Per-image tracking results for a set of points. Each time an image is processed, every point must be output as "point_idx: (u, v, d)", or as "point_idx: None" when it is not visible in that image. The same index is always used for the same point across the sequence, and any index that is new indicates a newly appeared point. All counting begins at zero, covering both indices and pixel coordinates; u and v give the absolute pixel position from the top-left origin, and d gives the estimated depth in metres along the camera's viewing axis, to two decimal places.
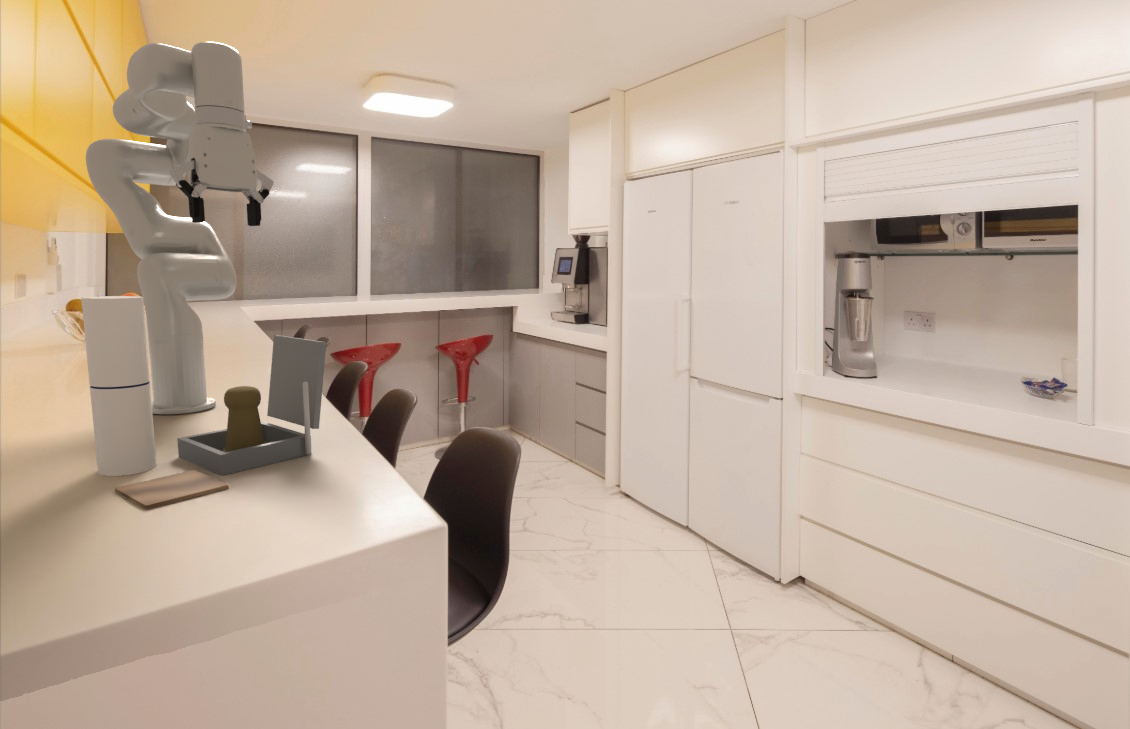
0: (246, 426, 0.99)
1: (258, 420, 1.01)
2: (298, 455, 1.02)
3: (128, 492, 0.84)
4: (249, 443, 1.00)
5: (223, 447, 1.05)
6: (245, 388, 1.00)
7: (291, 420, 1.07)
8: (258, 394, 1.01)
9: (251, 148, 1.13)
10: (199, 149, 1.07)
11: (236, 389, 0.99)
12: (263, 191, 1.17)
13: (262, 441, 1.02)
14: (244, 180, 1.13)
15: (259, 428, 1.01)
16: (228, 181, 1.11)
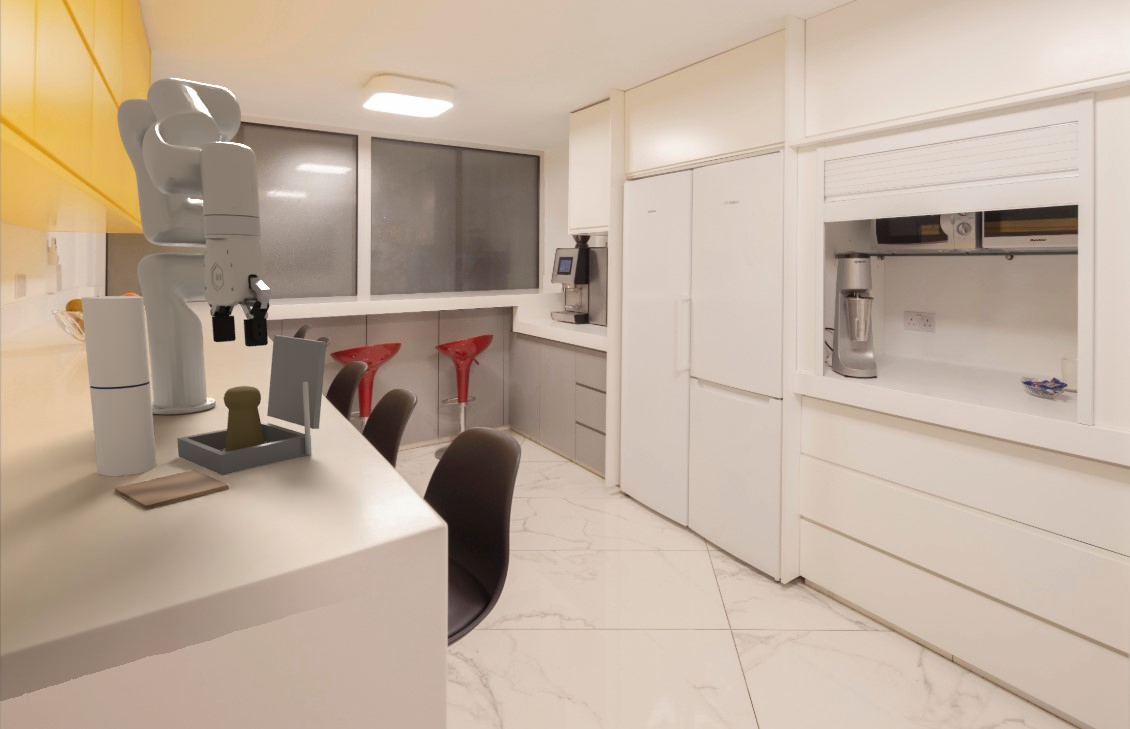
0: (246, 426, 0.99)
1: (258, 420, 1.01)
2: (298, 455, 1.02)
3: (128, 492, 0.84)
4: (249, 443, 1.00)
5: (223, 447, 1.05)
6: (245, 388, 1.00)
7: (291, 420, 1.07)
8: (258, 394, 1.01)
9: None
10: (262, 265, 0.96)
11: (236, 389, 0.99)
12: None
13: (262, 441, 1.02)
14: None
15: (259, 428, 1.01)
16: None
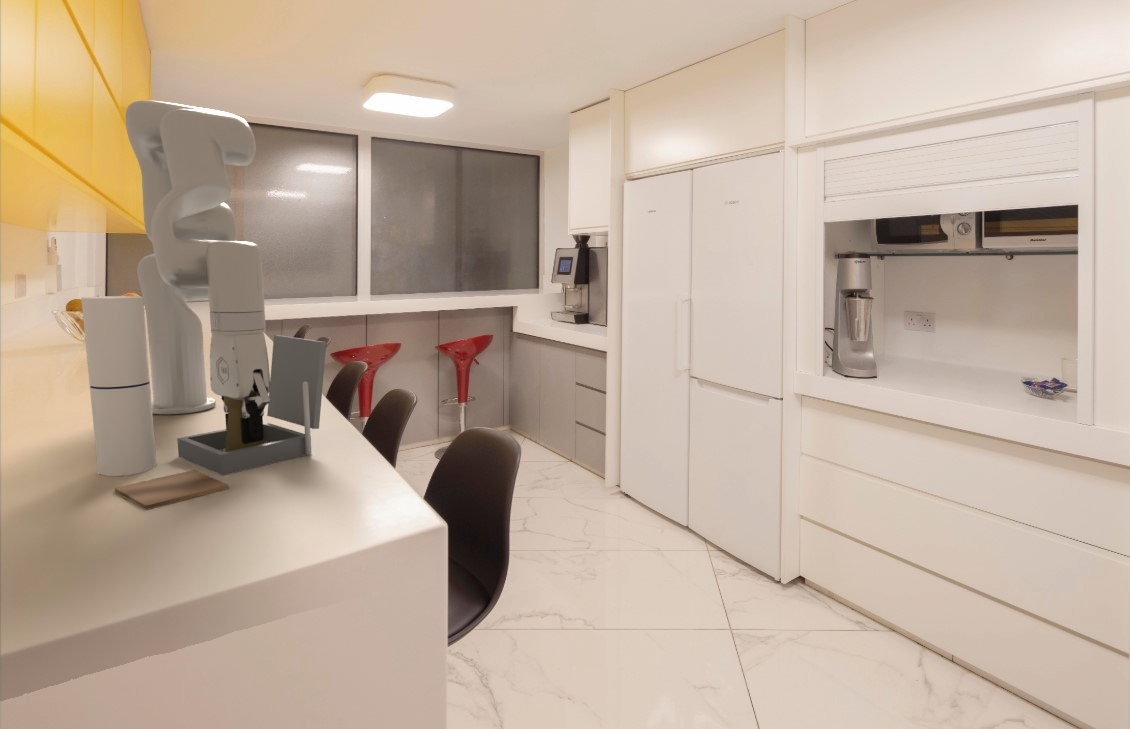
0: None
1: None
2: (298, 455, 1.02)
3: (128, 492, 0.84)
4: (249, 443, 1.00)
5: (223, 447, 1.05)
6: None
7: (291, 420, 1.07)
8: None
9: None
10: (266, 359, 0.98)
11: None
12: None
13: (262, 441, 1.02)
14: None
15: None
16: None
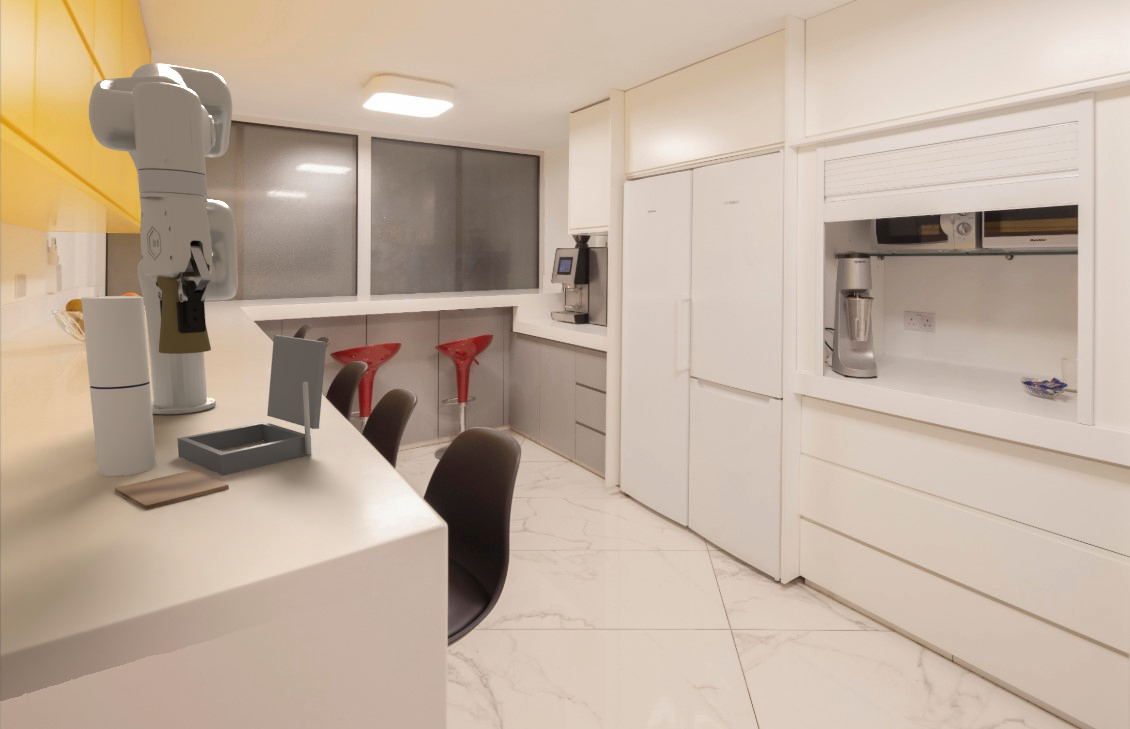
0: None
1: None
2: (298, 455, 1.02)
3: (128, 492, 0.84)
4: (188, 333, 0.83)
5: (223, 447, 1.05)
6: None
7: (291, 420, 1.07)
8: None
9: None
10: (207, 230, 0.82)
11: None
12: None
13: (204, 333, 0.86)
14: None
15: None
16: None
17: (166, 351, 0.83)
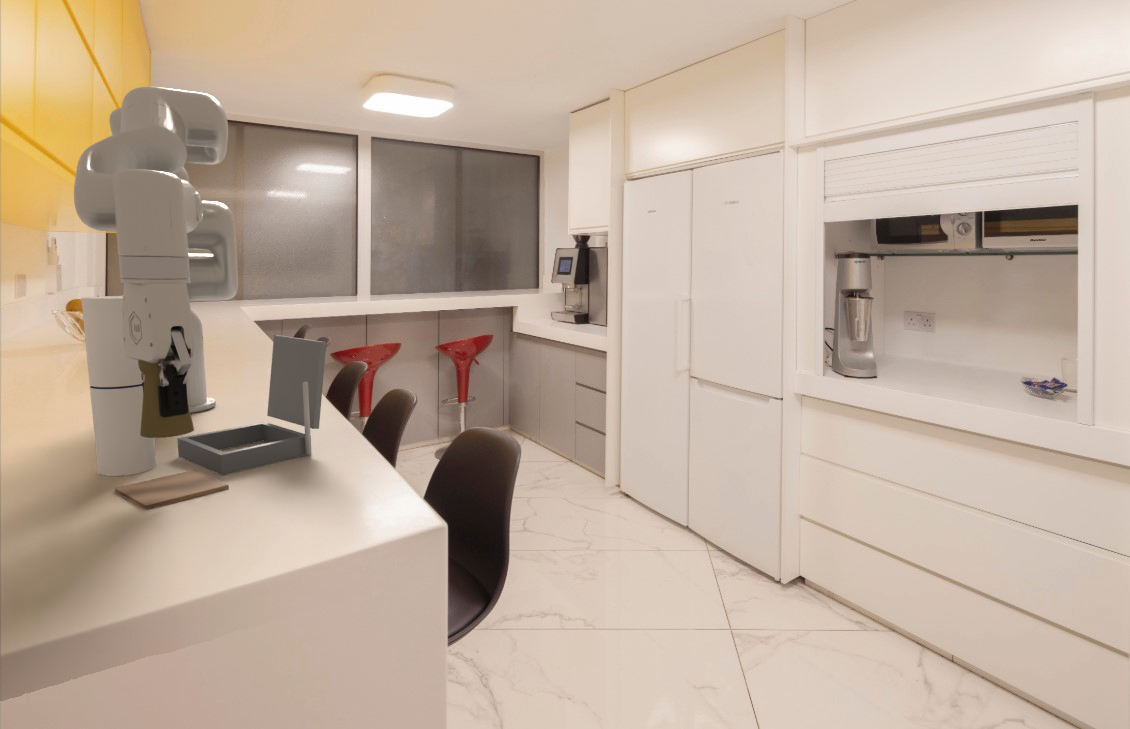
0: None
1: None
2: (298, 455, 1.02)
3: (128, 492, 0.84)
4: None
5: (223, 447, 1.05)
6: None
7: (291, 420, 1.07)
8: None
9: None
10: (189, 314, 0.81)
11: None
12: None
13: (187, 415, 0.85)
14: None
15: None
16: None
17: (147, 435, 0.82)
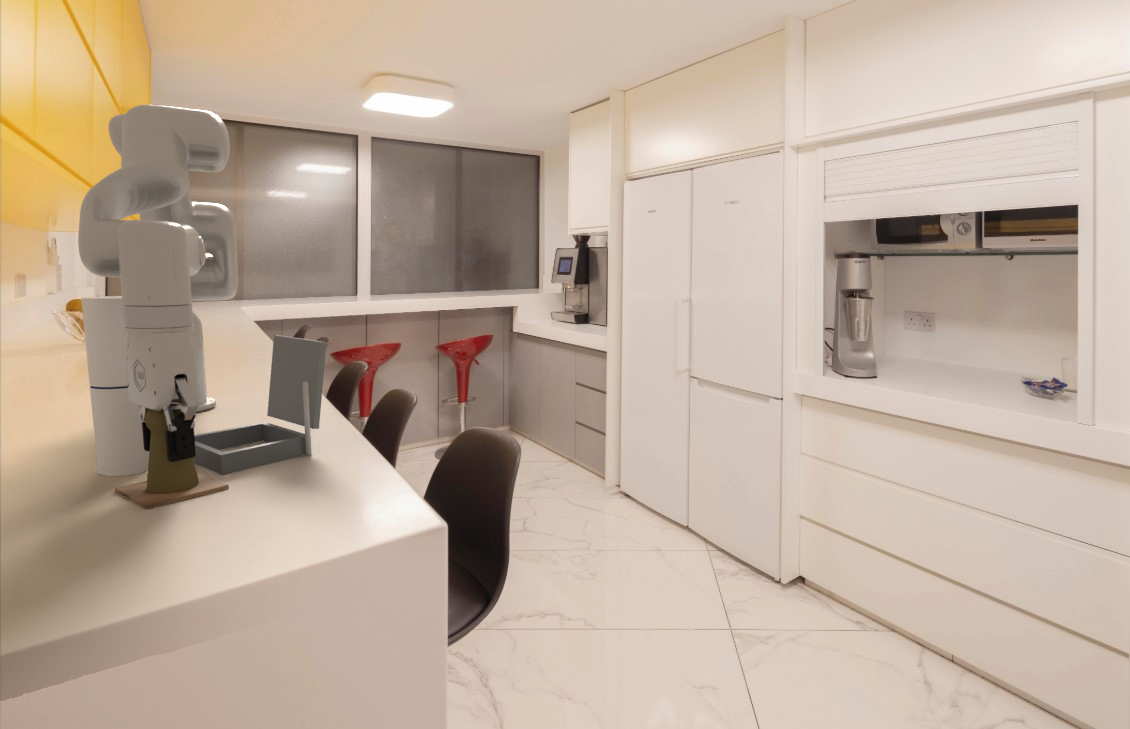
0: None
1: None
2: (298, 455, 1.02)
3: (128, 492, 0.84)
4: (175, 472, 0.84)
5: (223, 447, 1.05)
6: None
7: (291, 420, 1.07)
8: None
9: None
10: (192, 362, 0.82)
11: None
12: None
13: (192, 469, 0.86)
14: None
15: None
16: None
17: (153, 490, 0.83)
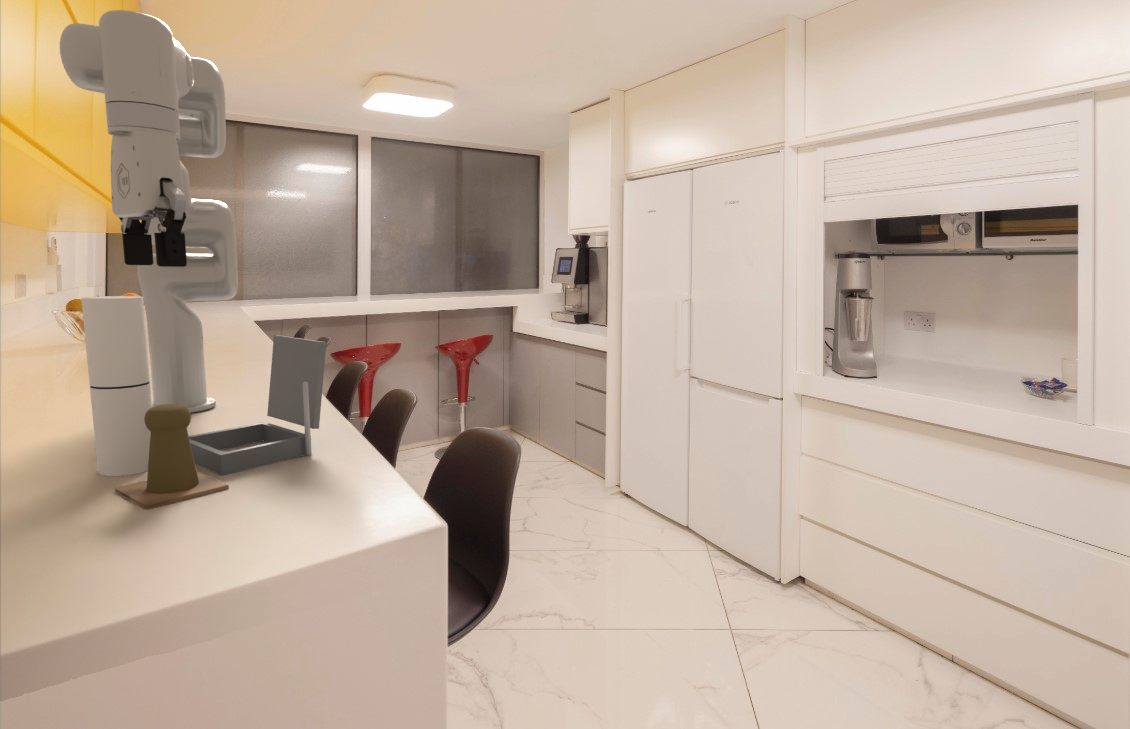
0: (170, 452, 0.84)
1: (187, 444, 0.85)
2: (298, 455, 1.02)
3: (128, 492, 0.84)
4: (174, 472, 0.84)
5: (223, 447, 1.05)
6: (170, 407, 0.84)
7: (291, 420, 1.07)
8: (186, 414, 0.85)
9: None
10: (179, 168, 0.79)
11: (159, 408, 0.83)
12: None
13: (192, 469, 0.86)
14: None
15: (188, 453, 0.85)
16: None
17: (153, 491, 0.83)
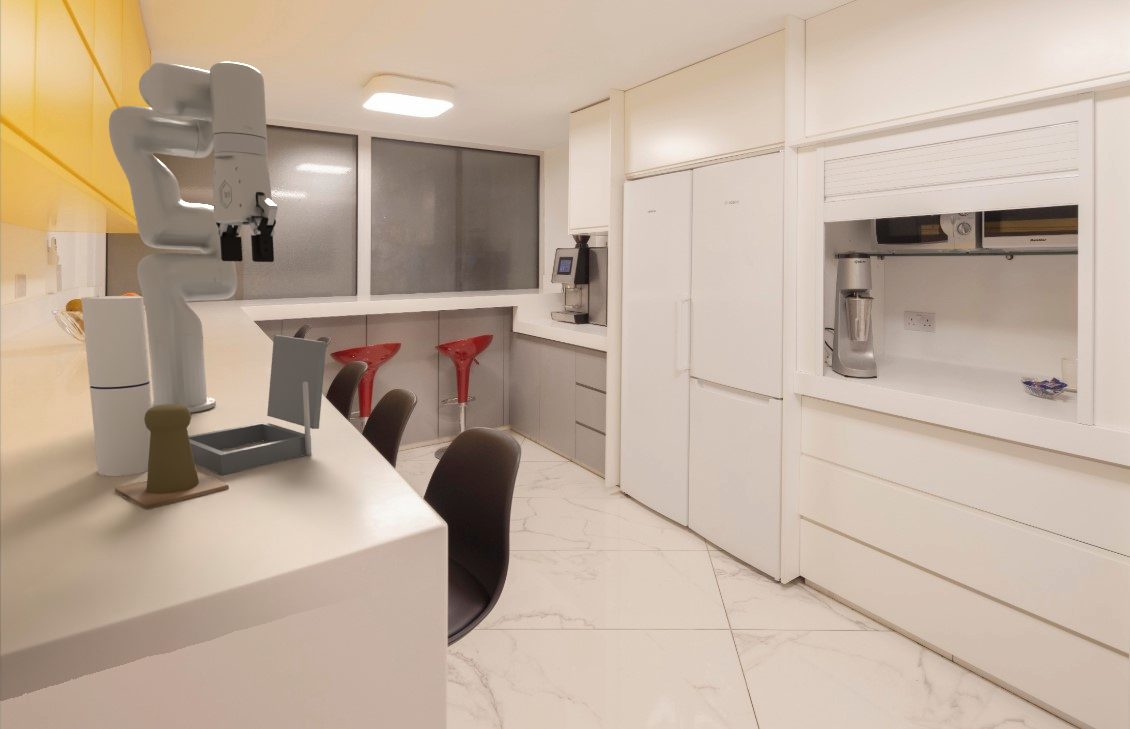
0: (170, 452, 0.84)
1: (187, 444, 0.85)
2: (298, 455, 1.02)
3: (128, 492, 0.84)
4: (174, 472, 0.84)
5: (223, 447, 1.05)
6: (170, 407, 0.84)
7: (291, 420, 1.07)
8: (186, 414, 0.85)
9: None
10: (269, 184, 1.00)
11: (159, 408, 0.83)
12: None
13: (192, 469, 0.86)
14: None
15: (188, 453, 0.85)
16: None
17: (153, 491, 0.83)
